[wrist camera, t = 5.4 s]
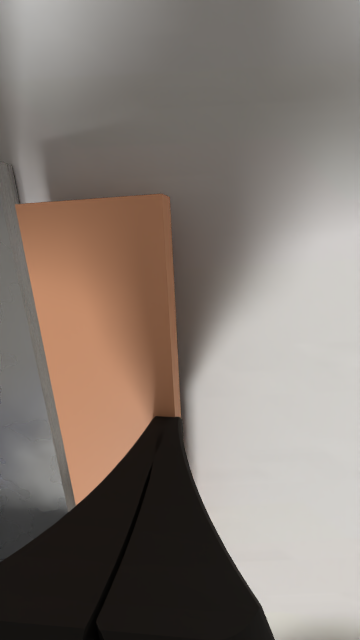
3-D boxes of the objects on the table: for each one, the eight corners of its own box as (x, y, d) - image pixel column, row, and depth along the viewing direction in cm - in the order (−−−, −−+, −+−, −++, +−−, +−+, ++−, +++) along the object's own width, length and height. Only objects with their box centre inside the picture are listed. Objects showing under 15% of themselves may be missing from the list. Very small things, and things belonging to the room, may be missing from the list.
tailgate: (100, 549, 15) (189, 565, 14) (89, 573, 14) (185, 592, 13) (38, 206, 10) (170, 197, 9) (14, 204, 9) (162, 193, 8)
